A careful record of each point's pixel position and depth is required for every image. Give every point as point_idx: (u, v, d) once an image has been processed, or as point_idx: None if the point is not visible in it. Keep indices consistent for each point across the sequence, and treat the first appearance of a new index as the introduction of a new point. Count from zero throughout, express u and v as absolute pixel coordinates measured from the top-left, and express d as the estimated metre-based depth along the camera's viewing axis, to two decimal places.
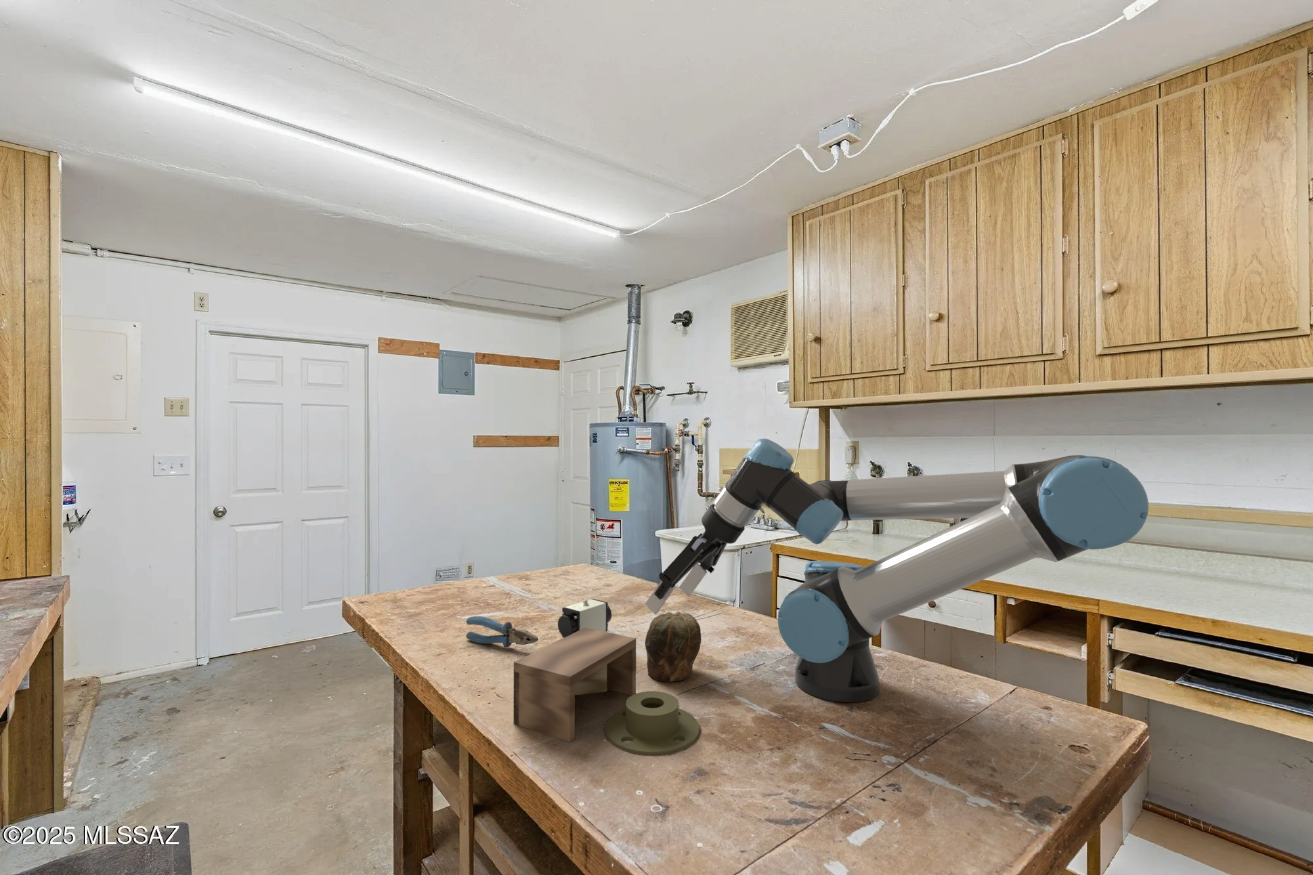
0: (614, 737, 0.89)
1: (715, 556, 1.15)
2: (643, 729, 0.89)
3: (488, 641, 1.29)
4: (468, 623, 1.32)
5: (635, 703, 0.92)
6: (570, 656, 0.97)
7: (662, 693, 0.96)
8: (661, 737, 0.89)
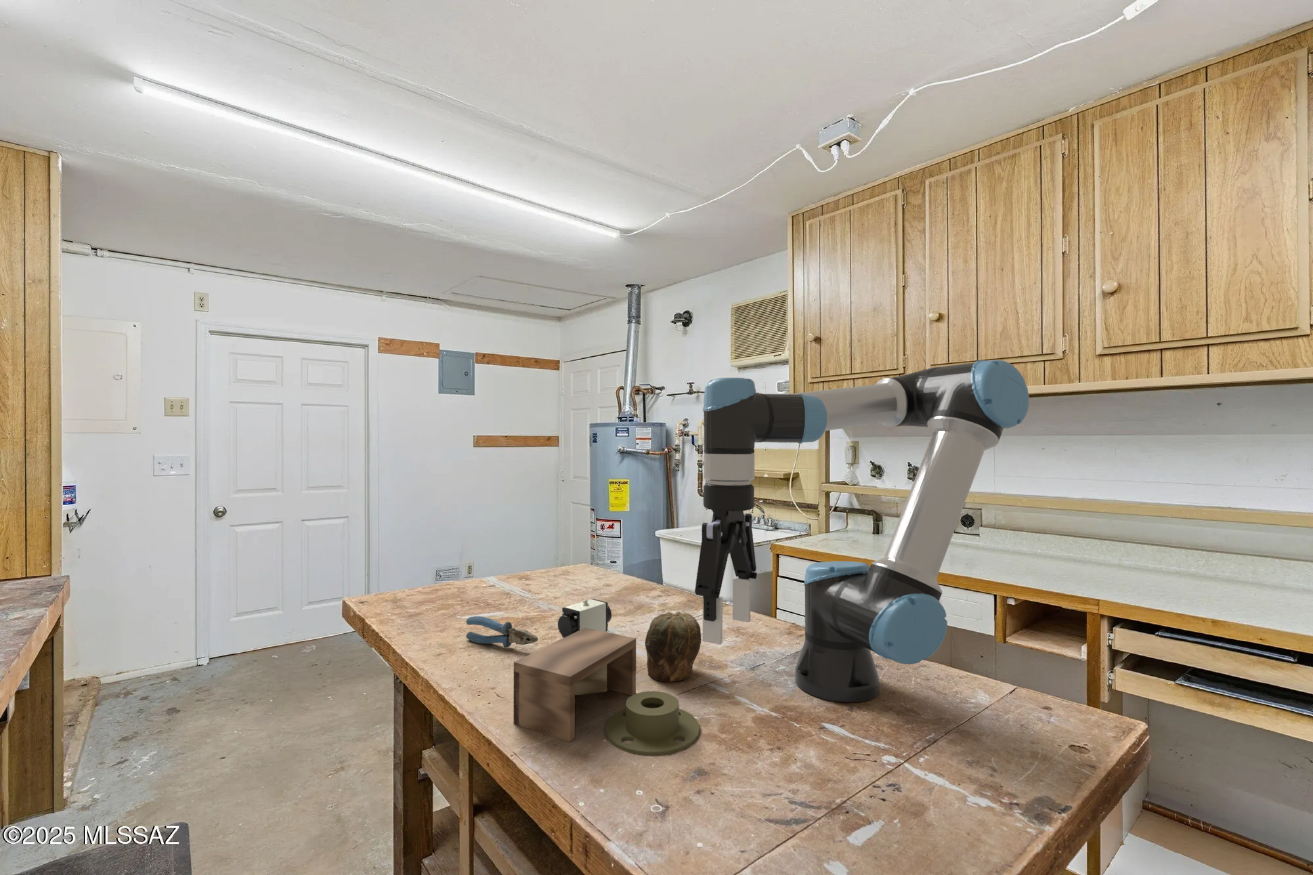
0: (614, 737, 0.89)
1: (749, 554, 0.92)
2: (643, 729, 0.89)
3: (488, 641, 1.29)
4: (468, 623, 1.32)
5: (635, 703, 0.92)
6: (570, 656, 0.97)
7: (662, 693, 0.96)
8: (661, 737, 0.89)
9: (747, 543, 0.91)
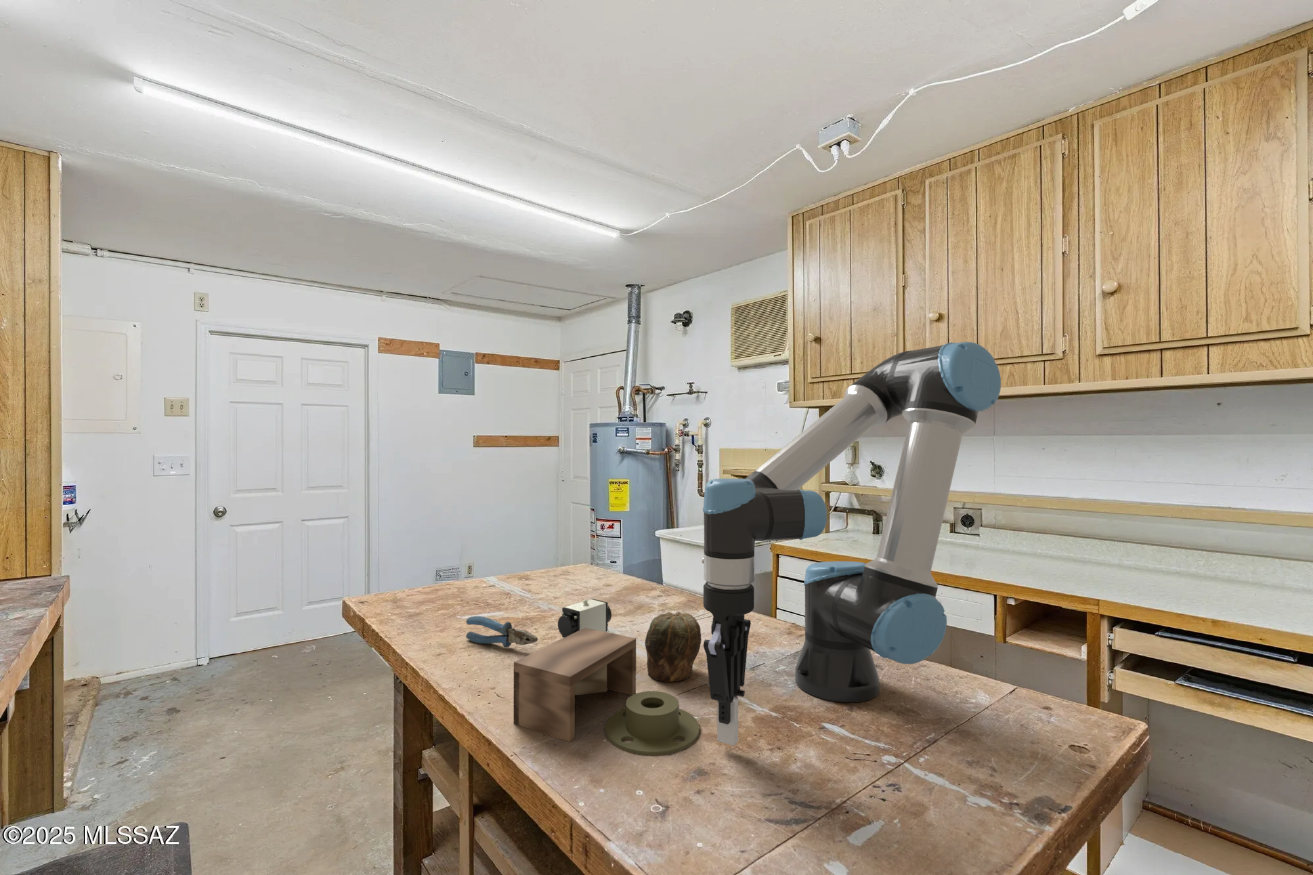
0: (614, 737, 0.89)
1: (740, 664, 0.89)
2: (643, 729, 0.89)
3: (488, 641, 1.29)
4: (468, 623, 1.32)
5: (635, 703, 0.92)
6: (570, 656, 0.97)
7: (662, 693, 0.96)
8: (661, 737, 0.89)
9: (741, 650, 0.89)
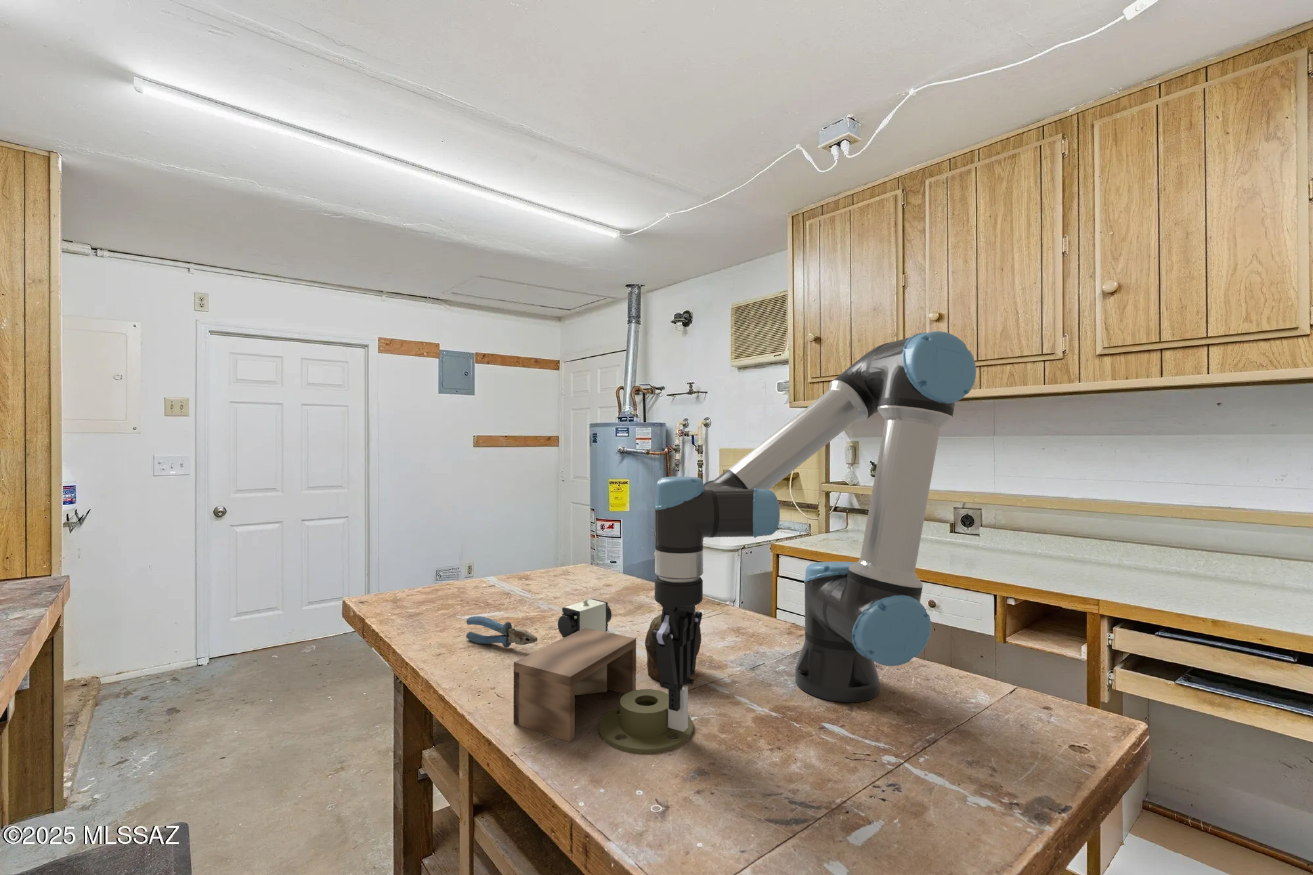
0: (608, 735, 0.89)
1: (690, 654, 0.93)
2: (637, 727, 0.89)
3: (487, 641, 1.29)
4: (468, 623, 1.32)
5: (629, 701, 0.93)
6: (570, 656, 0.97)
7: (656, 691, 0.96)
8: (655, 735, 0.89)
9: (692, 641, 0.93)
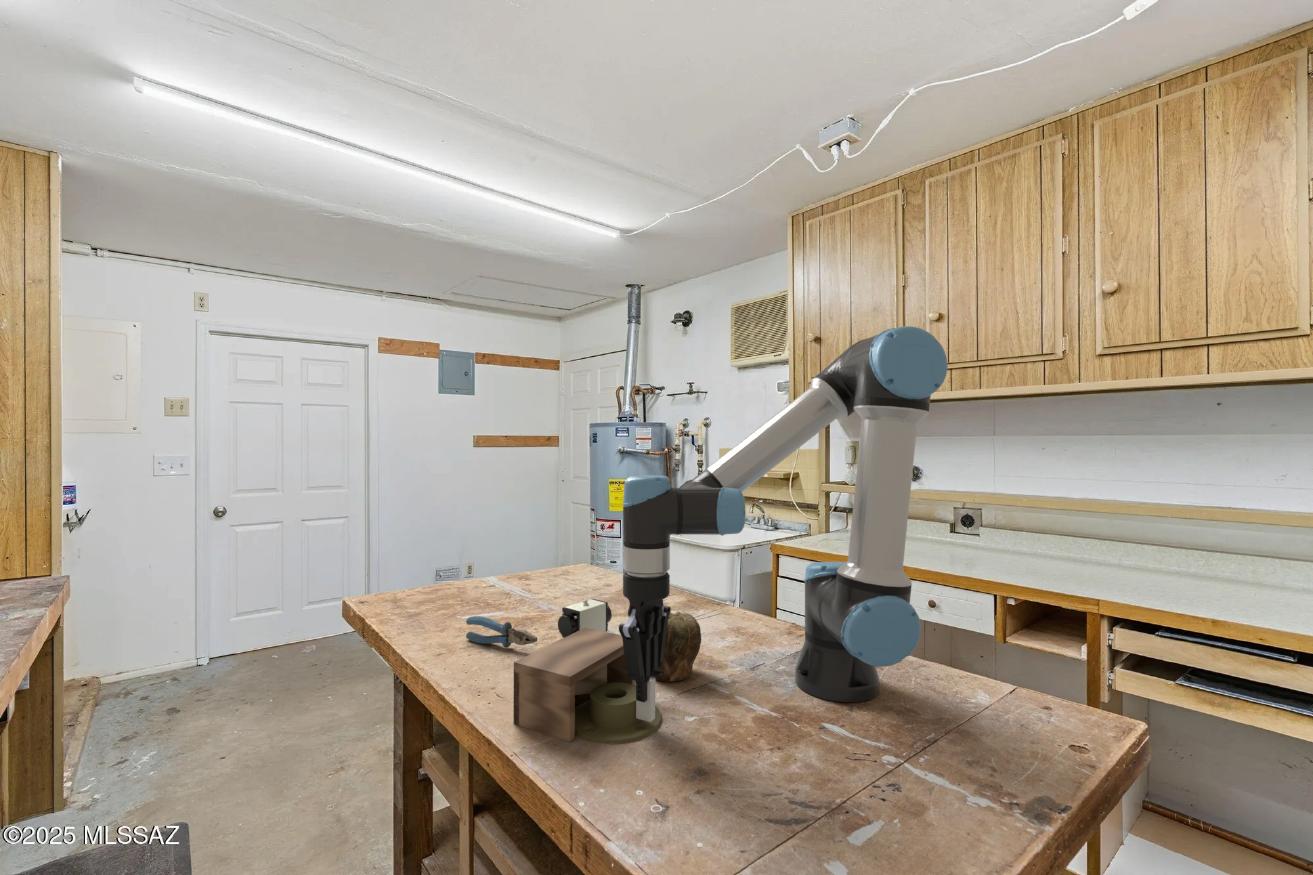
0: (577, 727, 0.92)
1: (658, 647, 0.95)
2: (605, 718, 0.92)
3: (487, 641, 1.29)
4: (468, 623, 1.32)
5: (598, 693, 0.96)
6: (570, 656, 0.97)
7: (626, 684, 0.99)
8: (623, 726, 0.92)
9: (660, 634, 0.96)
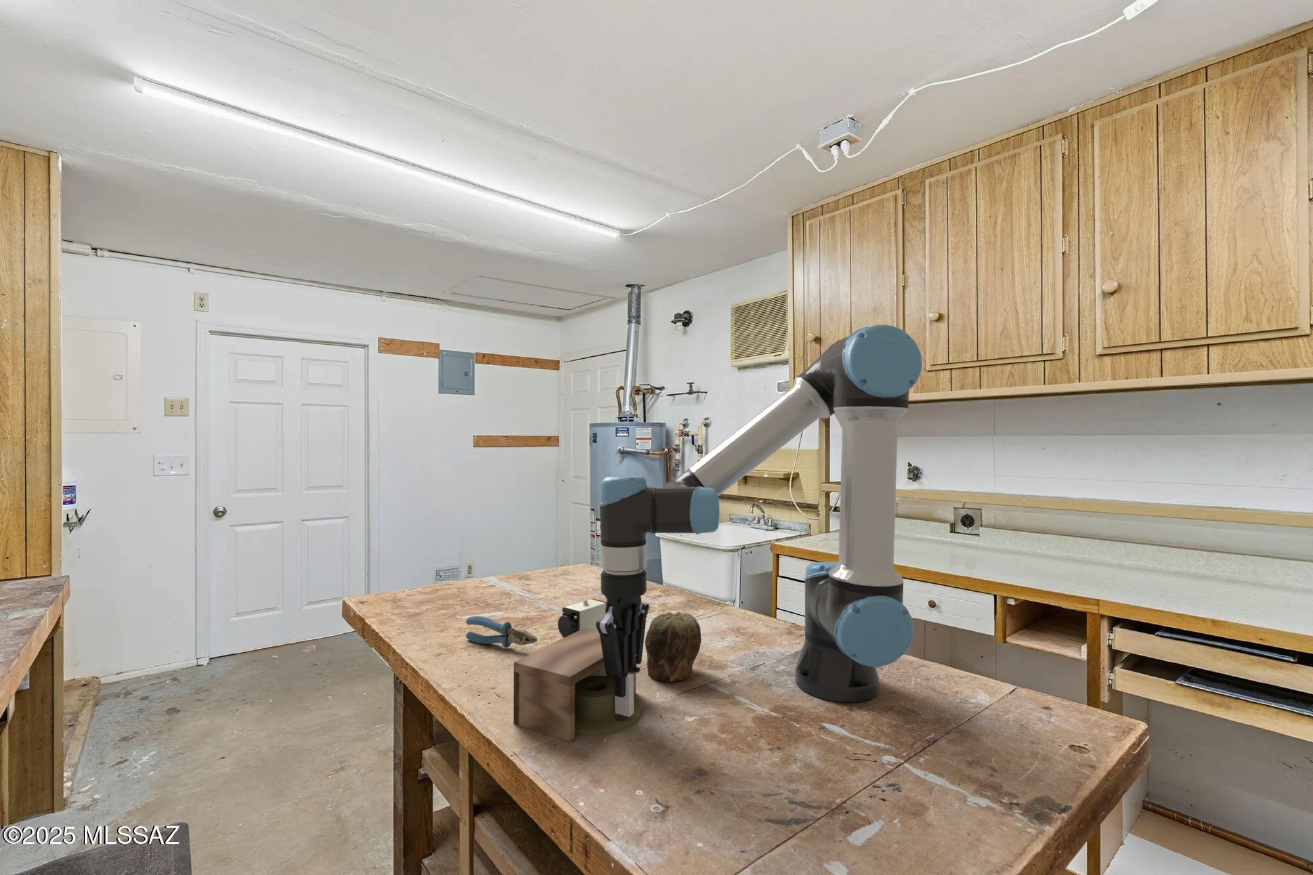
0: None
1: (637, 643, 0.98)
2: (586, 710, 0.94)
3: (487, 641, 1.29)
4: (468, 623, 1.32)
5: (579, 686, 0.98)
6: (570, 656, 0.97)
7: (606, 677, 1.01)
8: (603, 717, 0.94)
9: (638, 631, 0.98)
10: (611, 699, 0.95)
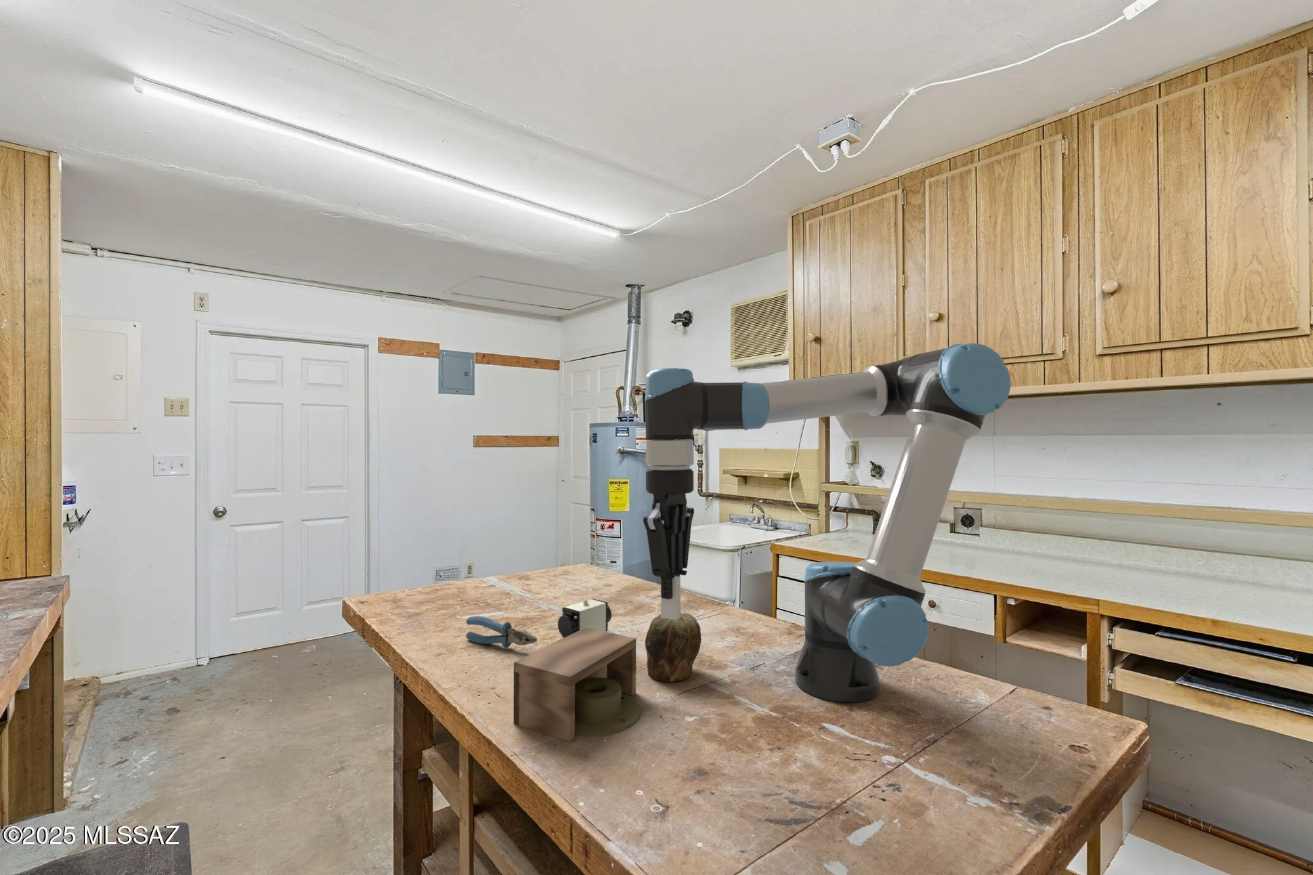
0: None
1: (683, 547, 0.93)
2: (586, 712, 0.94)
3: (487, 641, 1.29)
4: (468, 623, 1.32)
5: (579, 688, 0.98)
6: (570, 656, 0.97)
7: (606, 679, 1.01)
8: (603, 719, 0.94)
9: (684, 535, 0.94)
10: (611, 701, 0.95)
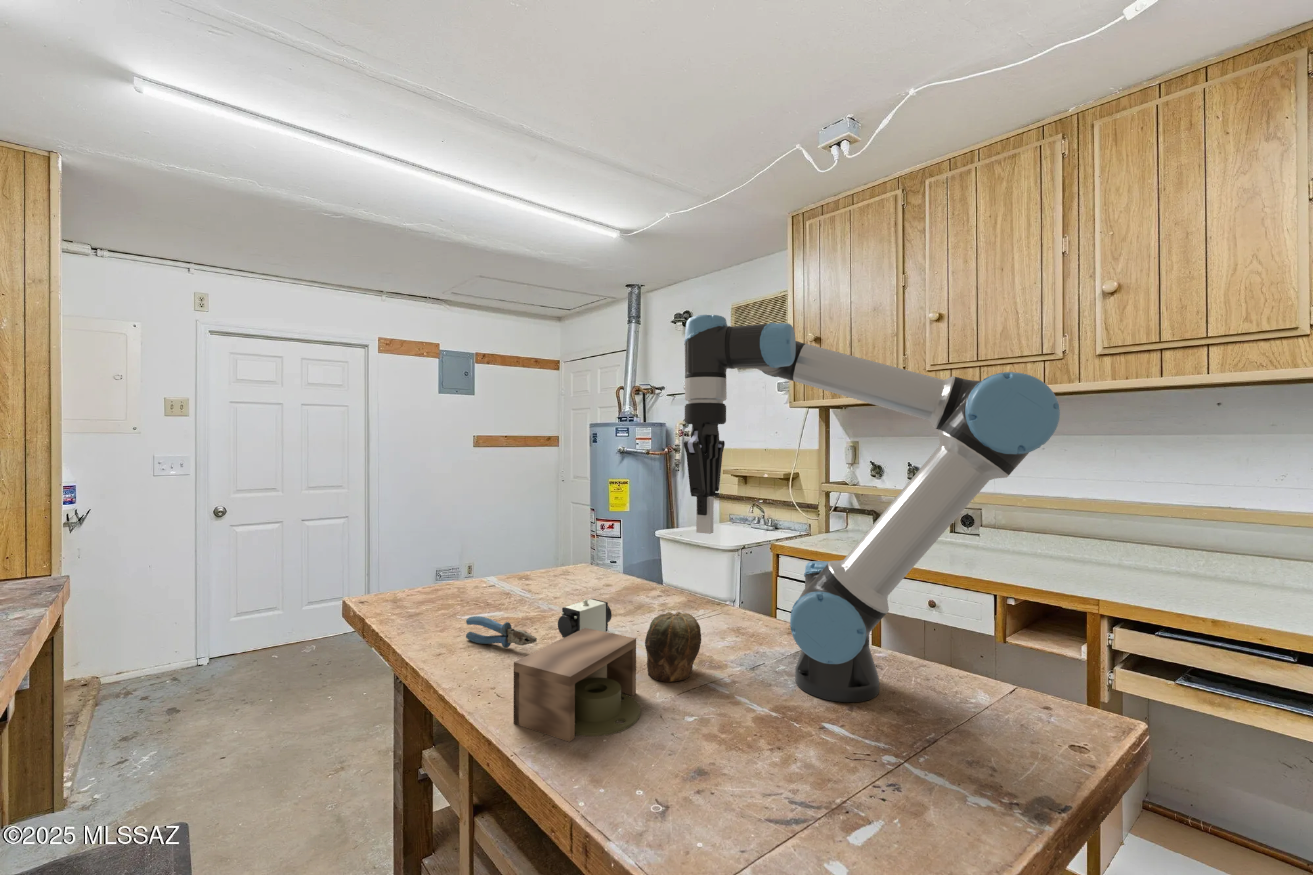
0: None
1: (715, 473, 1.07)
2: (586, 712, 0.94)
3: (487, 641, 1.29)
4: (468, 623, 1.32)
5: (579, 688, 0.98)
6: (570, 656, 0.97)
7: (606, 679, 1.01)
8: (603, 719, 0.94)
9: (716, 463, 1.08)
10: (611, 701, 0.95)
